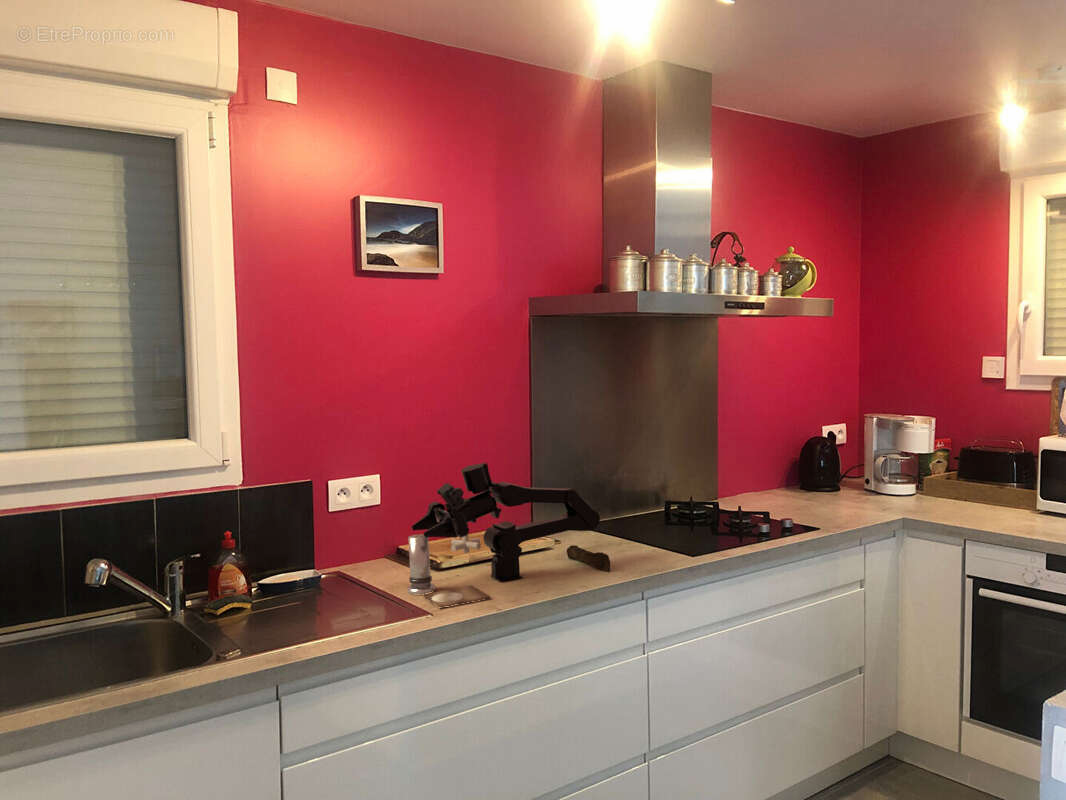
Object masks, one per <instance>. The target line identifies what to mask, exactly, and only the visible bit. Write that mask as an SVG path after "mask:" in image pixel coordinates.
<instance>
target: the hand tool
mask: <svg viewBox="0 0 1066 800" xmlns="http://www.w3.org/2000/svg"><path fill="white" fill-rule="evenodd" d="M566 554H567V558H568V559H571V560H576V561H579V562H581V563H584V564H587V565H590V566H592V567H593V568H594V569H595V570H597V571H601V572H611V560H610V557H609V555H608V554H607V553H605V552H599V551H598V552H597V551H596V552H592V551H588V550H586V549H584V548H582V547H579V546H578V545H575V544H574V545H572V544H571V545H569V547H567V549H566Z"/></svg>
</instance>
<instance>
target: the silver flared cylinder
mask: <svg viewBox="0 0 1066 800" xmlns="http://www.w3.org/2000/svg"><path fill="white" fill-rule="evenodd" d="M407 541H408V555H409V573H410V577H409V579H408V580H409V583H410V585H409V586H407V594H408V593H410V594H425V593H429V592H432V591H434V590H435V591H436V587H435V584H434V583H432V580H433V577H432V575H431V561H430V560H431V559H430V543H429V541H430V539H429V537H424V534H423V533H422V534H412V535H409V536H408V539H407ZM435 591H434V592H435ZM410 594H409V595H410Z"/></svg>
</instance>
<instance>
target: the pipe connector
mask: <svg viewBox="0 0 1066 800" xmlns="http://www.w3.org/2000/svg"><path fill="white" fill-rule="evenodd" d="M450 545H451V546H450V549H451V551H452V552H456V551H460V550H462V554H463V553H468V552H469V553H470V549H473V550H474V549H475V550H480V549H481V547H482V545H481V539H480V538H479V537H474V538H472V539H470V538H469V533H468V534H467V535H466V536H464V537H462V538H461V539H456V538H453V539H451V541H450Z"/></svg>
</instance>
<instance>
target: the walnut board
mask: <svg viewBox="0 0 1066 800" xmlns="http://www.w3.org/2000/svg"><path fill="white" fill-rule="evenodd" d="M422 597H425V598H426V599H428V600H430V601H431V602H433V603H434V604H436V605H437V606H438V607H444V606H451V605H455V604H462V603H467V602H472V601H478V600H483V599H489V600H491V595H489V594H487V593H485V592H484V591H482V590H480V589H479V588H477V587H475V586H474V585H468V586H463V587H456V588H452V589H446V590H440V591H434V592H433V593H429V594H424V595H422ZM426 599H425V600H426Z"/></svg>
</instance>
